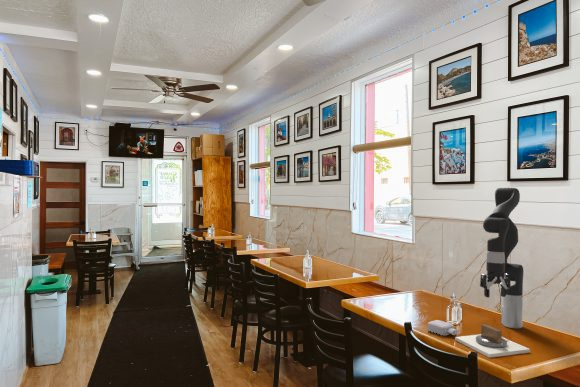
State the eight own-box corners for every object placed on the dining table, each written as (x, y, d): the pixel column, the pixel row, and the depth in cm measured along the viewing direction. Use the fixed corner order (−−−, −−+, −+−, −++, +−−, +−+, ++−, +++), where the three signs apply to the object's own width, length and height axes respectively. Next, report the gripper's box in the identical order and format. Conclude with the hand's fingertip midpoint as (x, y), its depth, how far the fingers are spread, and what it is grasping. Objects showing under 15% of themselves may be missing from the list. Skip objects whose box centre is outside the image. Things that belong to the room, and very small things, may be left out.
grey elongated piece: (453, 340, 201) (427, 331, 213) (464, 336, 206) (438, 328, 218) (453, 330, 201) (427, 322, 213) (464, 327, 206) (438, 319, 218)
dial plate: (455, 340, 200) (455, 336, 200) (492, 336, 206) (492, 332, 206) (489, 357, 179) (489, 353, 179) (529, 352, 185) (529, 348, 185)
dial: (469, 339, 197) (469, 324, 197) (492, 336, 200) (492, 322, 200) (490, 349, 184) (490, 333, 184) (513, 346, 188) (513, 331, 188)
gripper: (502, 260, 195) (502, 294, 195) (476, 260, 192) (476, 295, 192) (514, 262, 188) (514, 298, 188) (487, 262, 185) (487, 299, 184)
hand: (495, 296), depth 190 cm, fingers open, 8 cm apart
